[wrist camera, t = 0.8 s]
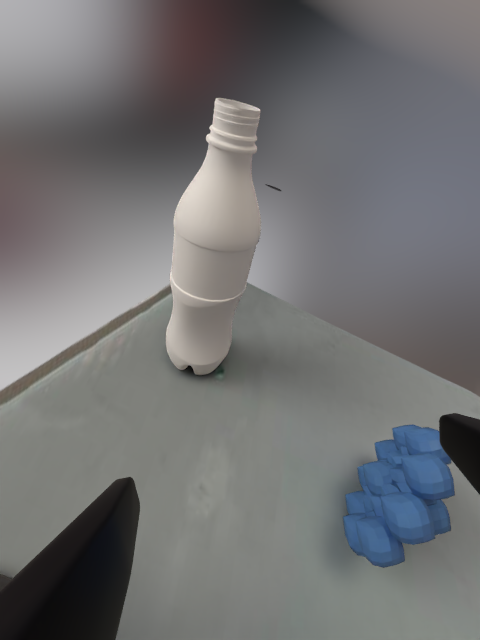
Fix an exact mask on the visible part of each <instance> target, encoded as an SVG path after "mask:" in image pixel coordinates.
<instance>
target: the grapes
mask: <svg viewBox="0 0 480 640" xmlns="http://www.w3.org/2000/svg"><path fill="white" fill-rule="evenodd" d="M392 430H393V437H394V440H384V441H380V442H376V443H375V450H376V455H377V459H378V461H374V462H370V463H367V464H363V466H360V467H358V475H359V481H360V484H361V486H362V488H363V491H356V492H352V493H349V494H346V495H345V496H346V505H347V511H348V513H349V515H346V516H344V517H343V520H344V529H345V535H346V538H347V540H348V543H349V546H350V548H351V549H352V550H353V551H354V552H355V553H356V554H357V555H359V556H364V557H366V558H367V559H368V560H369V561H370V562H371V563H372V564H373V565H375V566H379V567H383V568H384V567H388V566H393V565H397V564H400V563H402V562H404V561H405V556H404V549H403V545H402V543H407V544H412V545H414V544H420V543H424V542H428V541H431V540H433V539H435V535H438V534H443V533H446V532H448V531H451V526H450V517H449V514H448V511H447V507H446V506H445V504H444V503H443V501H442V500H441V499H445V498H449V497H452V496H454V495H455V494H454V483H453V478H452V475H451V472H450V469H449V467H448V466H447V464H450V463H451V458H450V457H449V456H448V455H447V454H446V452H445V451H444V450H443V448H442V446H441V444H440V437H439V431H437V430H435V429H432V428H429V427H425V428H421V427H419V426H416V425H404V426H399V427H396V428H392Z"/></svg>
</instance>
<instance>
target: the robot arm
mask: <svg viewBox="0 0 480 640" xmlns="http://www.w3.org/2000/svg"><path fill="white" fill-rule="evenodd" d="M439 437H440V444H441V446H442V448H443V450H444V451H445V452H446V454H447V455H448V456H449V457H450V458H451V460H452V461H453V462H454V463H455V465H456V466H457V467H458V468H459V470H460V471H461V472H462V473H463V475H464V476H465V477H466V478H467V480H468V481H469V482H470V483H471V485H472V486H473V487H474V488H475V489H476V491H477V492H478V493H479V494H480V420H479V419H475V418H472V417H468V416H464V415H460V414H456V413H453V414H448V415H443V416H441V417H440V420H439ZM139 513H140V502H139V498H138V494H137V491H136V487H135V483H134V480H133V479H132V478H131V477H127V478H122V479H118V480H116V481H115V482H113V483H112V484H111V485H110V486H109V487H108V488H107V489H106V490H105V491H104V492H103V493H102V494H101V495H100V496H99V497H98V498H97V499H96V500H95V501H94V502H93V503H91V504H90V505H89V506H88V507H87V508H86V509H85V510H84V511H83V512H82V513H81V514H80V515H79V516H78V517H77V518H76V519H75V520H74V521H73V522H72V523H71V524H69V525H68V526H67V527H66V528H65V529H64V530H63V531H62V532H61V533H60V534H59V535H58V536H57V537H56V538H55V539H54V540H53V541H52V542H51V543H50V544H49V545H47V546H46V547H45V548H44V549H43V550H42V551H41V552H40V553H39V554H38V555H37V556H36V557H35V558H34V559H33V560H32V561H31V562H30V563H29V564H28V565H26V566H25V567H24V568H23V569H22V570H21V571H20V572H19V573H18V574H17V575H16V576H15V577H14V578H13V579H12V580H11V581H10V582H9V583H8V584H7V585H5V586H4V587H3V588H2V589H1V590H0V640H115V639H116V635H117V631H118V626H119V622H120V618H121V614H122V610H123V605H124V601H125V597H126V593H127V589H128V584H129V580H130V575H131V569H132V563H133V556H134V549H135V542H136V534H137V527H138V520H139Z"/></svg>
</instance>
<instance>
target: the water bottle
mask: <svg viewBox="0 0 480 640" xmlns="http://www.w3.org/2000/svg"><path fill="white" fill-rule="evenodd" d="M214 104H215V108H214V115H213V125H211V126H210V130H211V133H210V134H208V135H207V136H206V140H207V142H208V143H209V146H208V151H207V154H206V158H205V160H204V163H203V165H202V167H201V168H200V170H199V171H198V173H197V174H196V176H195V177H194V179H193V180H192V182H191V183H190V185H189V186H188V188H187V189H186V191H185V192H184V194H183V196H182V197H181V199H180V201H179V203H178V206H177V208H176V212H175V215H174V222H173V225H174V243H173V259H172V269H171V271H170V284H171V289H172V294H173V310H172V315H171V319H170V322H169V324H168V327H167V330H166V348H167V352H168V355H169V358H170V359H171V361H172V363H173V364H174V365H175V366H176V367H177V368H178V369H179V370H184V369H186V368H187V367H188V365H189V366H191V367H192V368H193V371H194V373H195V374H196V375H205V374H208V373H210V372H212V371H213V370H215V369H216V368H217V367H218V366H219V365H220V363H221V362H222V360H223V359H224V358H225V357H226V356H227V354H228V352H229V349H230V345H231V341H232V322H233V317H234V314H235V310H236V308H237V305H238V302H239V300H240V298H241V296H242V294H243V292H244V290H245V289H246V286H247V282H246V281H247V278H248V274H249V270H250V266H251V262H252V259H253V255H254V252H255V248H256V245H257V243H258V242H259V239H260V233H261V232H260V231H261V218H260V212H259V207H258V202H257V198H256V193H255V190H254V185H253V181H252V173H251V162H252V154H254V153H256V151H257V147H256V145H255V141H257V136H256V130H257V126H258V125H259V123H258V121H259V119H260V109H258V108H256V107H254V106H251V105H248V104H245V103H242V102H238V101H234V100H229V99H223V98H216V101H215V102H214Z"/></svg>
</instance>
